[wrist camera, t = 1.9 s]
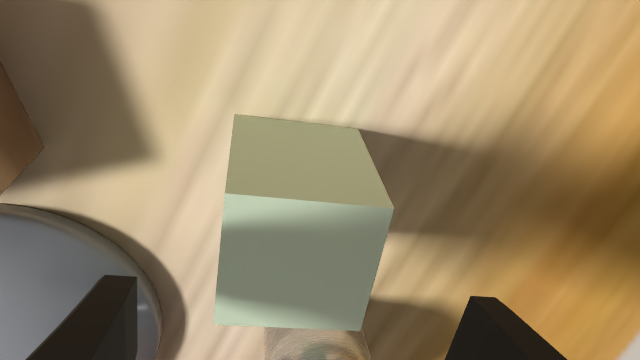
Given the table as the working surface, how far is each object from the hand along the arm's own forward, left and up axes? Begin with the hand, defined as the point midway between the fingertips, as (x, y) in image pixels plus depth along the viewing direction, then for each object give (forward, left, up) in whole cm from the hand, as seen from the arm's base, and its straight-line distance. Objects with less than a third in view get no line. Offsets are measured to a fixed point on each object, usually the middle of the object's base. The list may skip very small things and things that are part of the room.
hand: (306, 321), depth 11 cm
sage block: (0, 0, -7) cm, 7 cm away
